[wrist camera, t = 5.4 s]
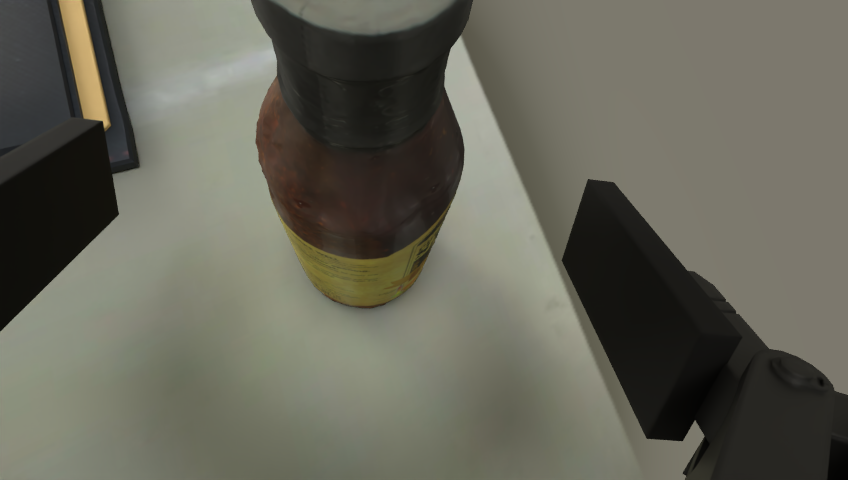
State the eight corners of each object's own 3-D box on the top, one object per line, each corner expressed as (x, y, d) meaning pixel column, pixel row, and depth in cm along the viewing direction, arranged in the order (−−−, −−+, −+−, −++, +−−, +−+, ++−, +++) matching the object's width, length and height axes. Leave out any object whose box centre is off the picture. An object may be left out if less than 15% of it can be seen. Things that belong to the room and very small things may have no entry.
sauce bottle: (426, 308, 27) (585, 140, 8) (302, 314, 26) (145, 146, 7) (418, 188, 29) (533, -193, 10) (301, 190, 28) (170, -219, 9)
